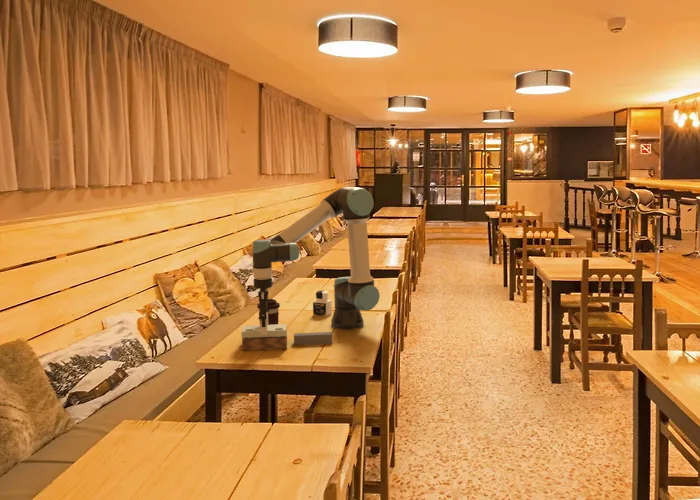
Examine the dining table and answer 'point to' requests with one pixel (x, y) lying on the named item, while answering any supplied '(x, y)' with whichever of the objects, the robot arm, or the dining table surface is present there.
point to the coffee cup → (271, 311)
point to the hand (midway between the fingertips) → (264, 330)
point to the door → (271, 331)
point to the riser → (312, 338)
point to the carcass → (264, 343)
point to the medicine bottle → (322, 304)
